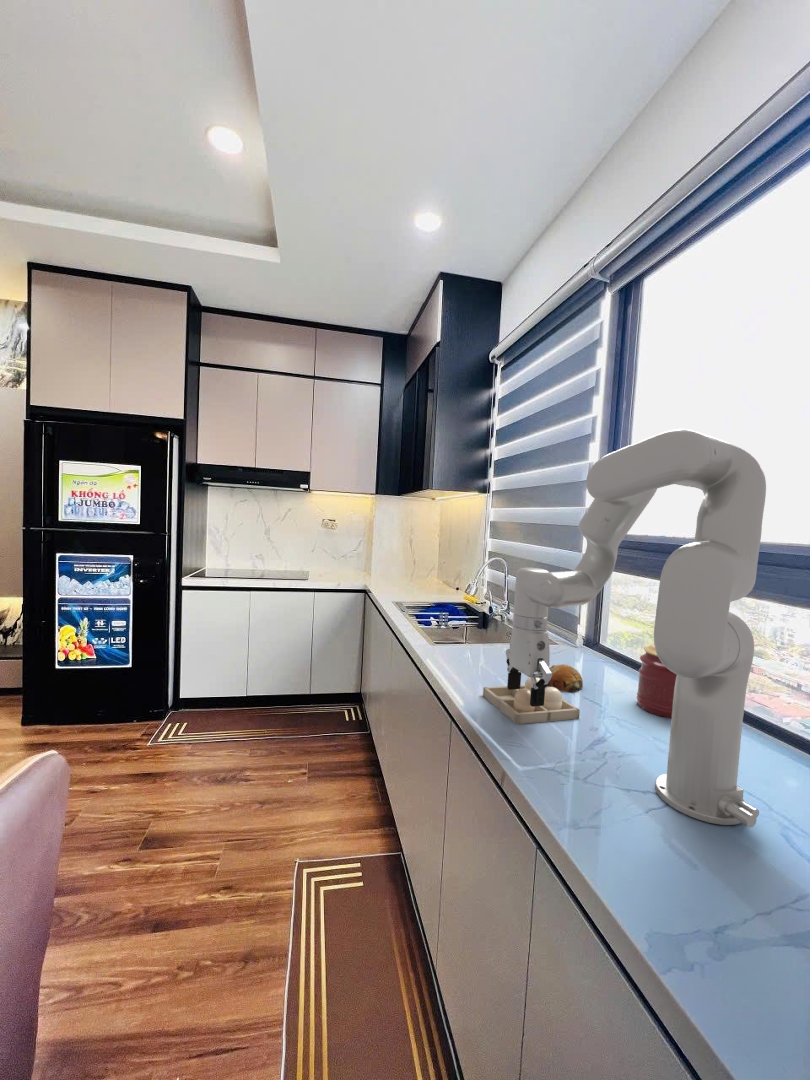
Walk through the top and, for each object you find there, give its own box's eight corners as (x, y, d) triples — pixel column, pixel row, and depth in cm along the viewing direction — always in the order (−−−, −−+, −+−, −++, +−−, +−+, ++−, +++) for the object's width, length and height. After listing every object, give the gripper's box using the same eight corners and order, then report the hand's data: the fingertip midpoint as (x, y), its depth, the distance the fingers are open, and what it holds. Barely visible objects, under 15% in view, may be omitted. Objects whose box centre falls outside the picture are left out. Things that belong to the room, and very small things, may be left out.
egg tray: (578, 720, 104) (579, 709, 104) (516, 726, 99) (517, 714, 99) (538, 693, 119) (539, 684, 119) (482, 697, 114) (483, 687, 114)
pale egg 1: (546, 702, 112) (548, 679, 112) (530, 703, 111) (532, 680, 110) (536, 695, 116) (537, 673, 116) (520, 696, 115) (521, 674, 115)
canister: (643, 715, 109) (649, 642, 108) (630, 695, 122) (635, 630, 121) (705, 724, 106) (711, 649, 105) (685, 703, 119) (690, 635, 118)
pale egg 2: (565, 715, 105) (567, 690, 105) (548, 716, 104) (549, 691, 104) (553, 706, 110) (555, 683, 109) (536, 708, 108) (538, 684, 108)
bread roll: (577, 697, 128) (576, 668, 131) (588, 694, 119) (587, 663, 122) (541, 694, 129) (540, 665, 132) (549, 691, 120) (548, 660, 123)
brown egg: (538, 717, 103) (540, 692, 103) (520, 718, 102) (522, 693, 101) (527, 708, 107) (528, 685, 107) (509, 710, 106) (511, 686, 106)
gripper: (568, 632, 96) (562, 711, 97) (523, 614, 113) (519, 682, 114) (537, 632, 94) (531, 714, 95) (496, 614, 111) (491, 684, 112)
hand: (524, 697), depth 104 cm, fingers open, 9 cm apart
